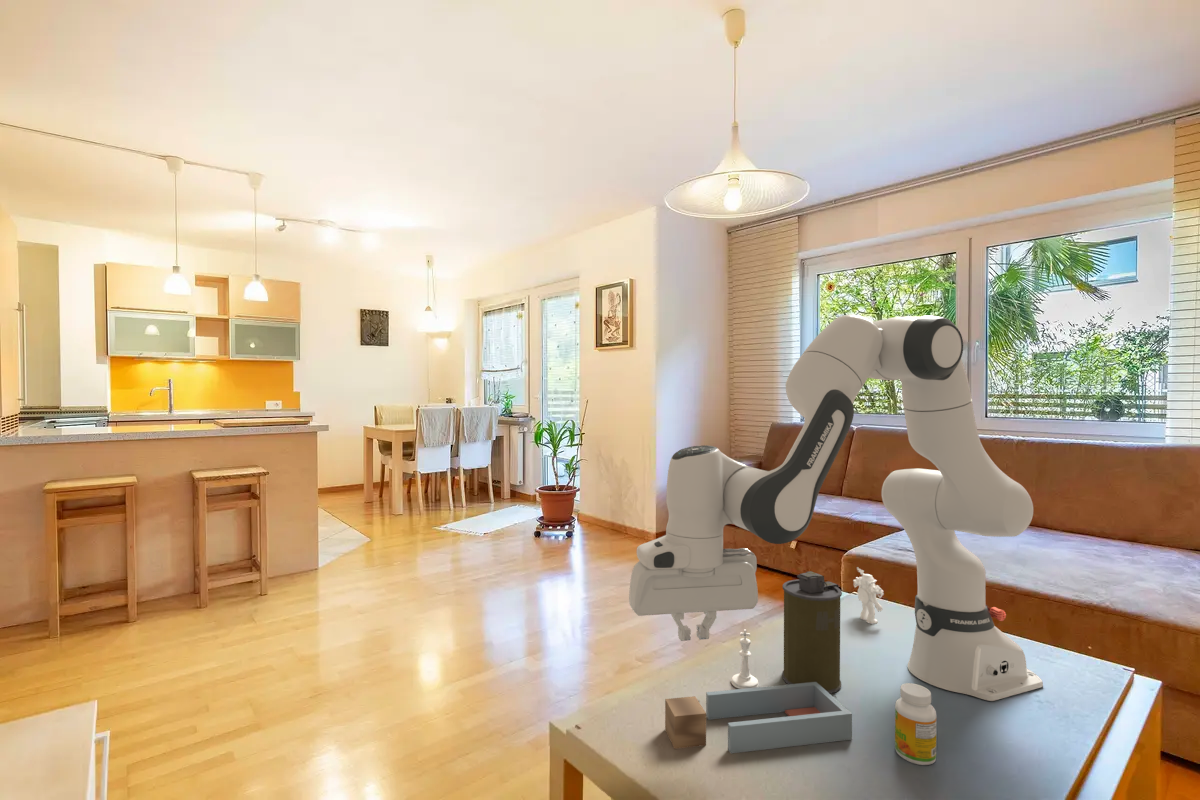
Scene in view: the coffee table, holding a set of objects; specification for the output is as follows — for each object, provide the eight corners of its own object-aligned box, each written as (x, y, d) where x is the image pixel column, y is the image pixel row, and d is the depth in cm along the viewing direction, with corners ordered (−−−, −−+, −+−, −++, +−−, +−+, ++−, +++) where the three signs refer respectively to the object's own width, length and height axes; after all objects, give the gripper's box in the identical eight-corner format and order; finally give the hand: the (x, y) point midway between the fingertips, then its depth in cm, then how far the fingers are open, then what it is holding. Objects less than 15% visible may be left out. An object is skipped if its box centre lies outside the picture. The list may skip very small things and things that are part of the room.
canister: (810, 700, 99) (811, 586, 99) (770, 673, 109) (770, 569, 109) (855, 687, 104) (856, 578, 104) (813, 662, 113) (813, 563, 113)
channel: (816, 704, 98) (816, 681, 98) (851, 739, 88) (852, 713, 88) (706, 716, 94) (706, 692, 94) (730, 753, 84) (730, 726, 84)
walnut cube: (695, 727, 91) (695, 696, 91) (706, 746, 86) (706, 713, 86) (665, 730, 90) (665, 699, 90) (674, 749, 85) (674, 716, 85)
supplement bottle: (888, 743, 87) (888, 680, 87) (923, 744, 87) (924, 680, 87) (906, 766, 81) (906, 698, 81) (944, 767, 81) (944, 699, 81)
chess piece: (759, 691, 102) (759, 636, 102) (731, 688, 103) (731, 634, 103) (757, 678, 107) (757, 625, 107) (730, 675, 108) (731, 623, 108)
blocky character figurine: (849, 613, 139) (849, 565, 139) (863, 612, 140) (864, 564, 140) (873, 628, 130) (873, 576, 130) (888, 627, 131) (888, 575, 131)
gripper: (747, 542, 93) (747, 626, 93) (626, 547, 90) (626, 634, 90) (765, 552, 87) (764, 642, 87) (636, 558, 83) (635, 652, 83)
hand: (693, 638), depth 88 cm, fingers closed
